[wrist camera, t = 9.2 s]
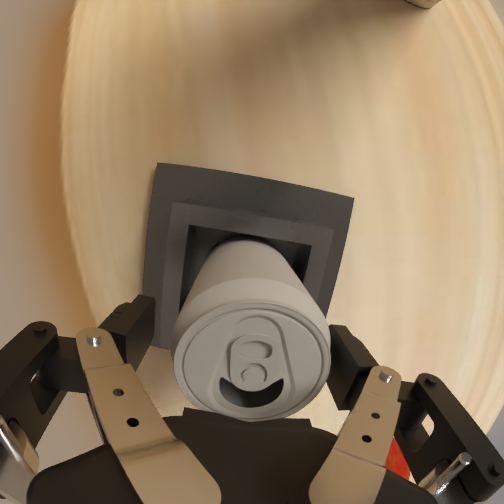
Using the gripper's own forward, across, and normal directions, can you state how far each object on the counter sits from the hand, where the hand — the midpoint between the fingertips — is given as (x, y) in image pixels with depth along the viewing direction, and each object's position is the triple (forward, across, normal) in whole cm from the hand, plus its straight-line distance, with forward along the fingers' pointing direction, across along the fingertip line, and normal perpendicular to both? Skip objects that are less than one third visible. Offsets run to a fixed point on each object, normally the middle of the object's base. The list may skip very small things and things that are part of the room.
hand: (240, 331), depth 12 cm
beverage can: (+9, 0, 0) cm, 9 cm away
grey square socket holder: (+10, 0, 0) cm, 10 cm away
